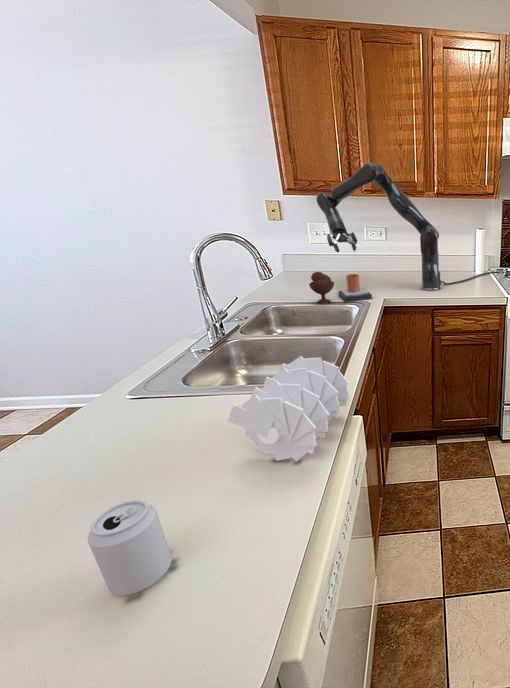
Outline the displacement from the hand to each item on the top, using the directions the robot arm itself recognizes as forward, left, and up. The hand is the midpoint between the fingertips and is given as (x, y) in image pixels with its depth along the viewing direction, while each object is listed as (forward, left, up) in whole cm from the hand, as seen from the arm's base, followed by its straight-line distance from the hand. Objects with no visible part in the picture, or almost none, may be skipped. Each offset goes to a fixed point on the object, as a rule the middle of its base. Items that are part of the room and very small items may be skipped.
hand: (346, 250), depth 202 cm
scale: (+1, +12, -21) cm, 25 cm away
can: (+70, +145, -22) cm, 162 cm away
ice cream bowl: (+16, +14, -22) cm, 30 cm away
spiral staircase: (+43, +120, -22) cm, 130 cm away
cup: (+1, +11, -18) cm, 21 cm away
